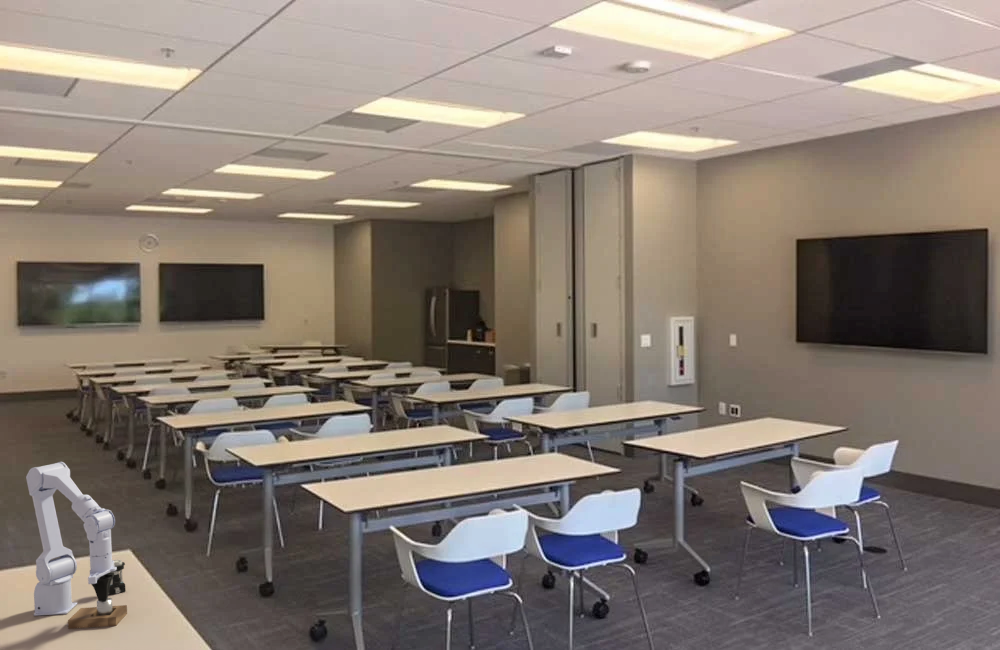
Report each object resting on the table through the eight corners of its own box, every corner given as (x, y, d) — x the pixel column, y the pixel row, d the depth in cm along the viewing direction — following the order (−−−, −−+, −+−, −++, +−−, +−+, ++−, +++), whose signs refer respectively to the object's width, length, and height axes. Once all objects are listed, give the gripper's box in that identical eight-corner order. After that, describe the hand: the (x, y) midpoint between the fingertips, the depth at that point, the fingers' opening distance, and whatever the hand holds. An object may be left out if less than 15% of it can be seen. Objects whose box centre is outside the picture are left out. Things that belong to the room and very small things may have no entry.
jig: (68, 628, 230) (67, 620, 230) (81, 616, 239) (80, 608, 239) (116, 625, 231) (115, 617, 231) (127, 613, 240) (126, 605, 240)
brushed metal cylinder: (95, 624, 233) (94, 603, 233) (100, 618, 237) (99, 598, 237) (110, 622, 234) (109, 602, 233) (114, 617, 237) (113, 597, 237)
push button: (104, 598, 253) (103, 566, 253) (101, 593, 258) (100, 562, 257) (127, 592, 257) (126, 561, 257) (124, 588, 262) (122, 557, 261)
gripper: (105, 560, 228) (108, 608, 228) (124, 545, 242) (126, 590, 243) (79, 562, 227) (81, 610, 227) (99, 546, 241) (101, 591, 242)
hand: (102, 599), depth 235 cm, fingers closed
